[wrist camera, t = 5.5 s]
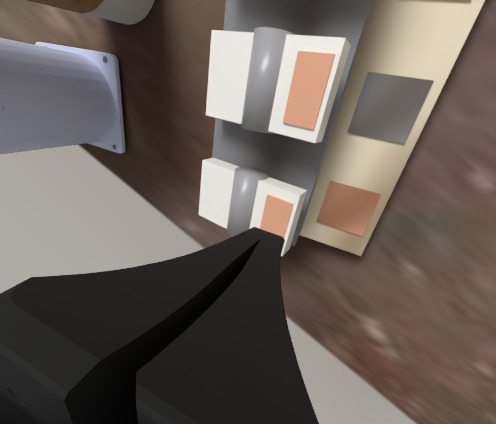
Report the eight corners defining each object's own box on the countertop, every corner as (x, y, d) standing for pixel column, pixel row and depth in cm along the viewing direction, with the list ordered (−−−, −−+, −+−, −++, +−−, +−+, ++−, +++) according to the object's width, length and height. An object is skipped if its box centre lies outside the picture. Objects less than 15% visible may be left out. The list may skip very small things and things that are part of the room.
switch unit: (217, 197, 20) (190, 215, 17) (251, -114, 12) (213, -200, 9) (360, 245, 17) (362, 278, 14) (538, -135, 9) (655, -286, 6)
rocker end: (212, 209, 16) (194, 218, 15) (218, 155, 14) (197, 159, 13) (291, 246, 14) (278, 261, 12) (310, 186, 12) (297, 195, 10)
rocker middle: (222, 117, 13) (200, 117, 12) (230, 36, 12) (205, 24, 10) (323, 143, 11) (311, 146, 9) (353, 44, 9) (344, 30, 8)
